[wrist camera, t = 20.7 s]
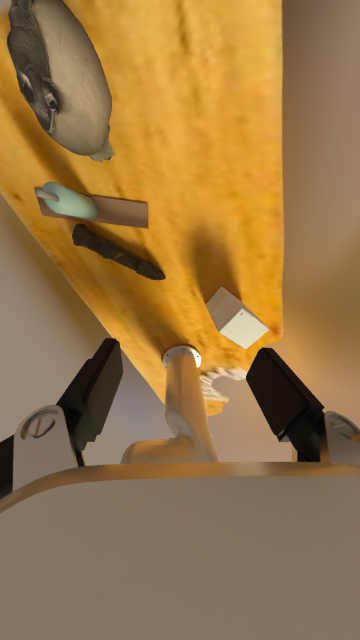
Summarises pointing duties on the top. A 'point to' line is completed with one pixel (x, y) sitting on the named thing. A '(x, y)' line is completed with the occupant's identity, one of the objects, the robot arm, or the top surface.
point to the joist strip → (109, 212)
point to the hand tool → (114, 252)
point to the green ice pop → (67, 201)
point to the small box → (235, 319)
